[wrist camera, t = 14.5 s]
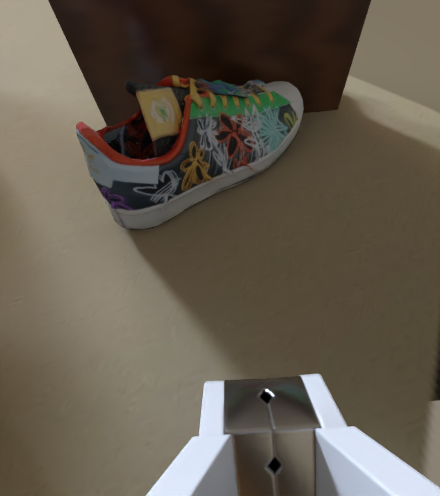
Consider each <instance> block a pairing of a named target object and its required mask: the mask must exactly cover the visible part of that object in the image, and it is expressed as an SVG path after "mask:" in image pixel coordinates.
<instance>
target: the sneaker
mask: <svg viewBox="0 0 440 496" xmlns="http://www.w3.org/2000/svg"><path fill="white" fill-rule="evenodd" d="M126 90H127V92H128V93H130V94H131V95H133V96H134V97H136V98H138V101H139V104H140V107H141V108H140V109H139V111H138V112H137V113H135V114H134V115H133V116H132V117H130V118H128V119H126V120H124V121H122V122H120V123H119V124H116V125H114V126H106V127H104V128H103V129H101V130H98V131H94V130H93V129H91V128H90V127H89V126H87V125H86V124H84V123H83V122H79V123H78V124H77V125H76V132H77V136H78V139H79V141H80V144H81V146H82V149H83V152H84V156H85V160H86V163H87V166H88V169H89V172H90V176H91V177H92V178H93V180H94V181H95V183H96V185H97V187H98V188H99V190H100V192H101V193H102V195H103V197H104V199H105V202H106V204H107V205H108V207H109V209H110V211H111V214H112V216H113V218H114V220H115V221H116V222H117V223H118V224H119V225H120V226H122V227H124V228H131V229H145V228H150V227H155V226H158V225H160V224H162V223H163V222H165V221H167V220H169V219H171V218H173V217H175V216H176V215H178V214H179V213H180V212H182V211H183V210H185V209H186V208H188V207H190V206H192V205H194V204H196V203H198V202H200V201H202V200H203V199H205V198H207V197H209V196H211V195H213V194H215V193H217V192H220V191H223V190H225V189H228V188H231V187H233V186H236V185H238V184H241V183H243V182H245V181H247V180H249V179H251V178H253V177H255V176H257V175H258V174H260V173H261V172H263V171H264V170H266V169H267V168H268V167H269V166H270V165H271V164H272V163H273V162H274V161H276V160H277V159H278V158H279V157H280V155H281V154H282V153H283V152H284V151H285V150H286V149H287V148H288V147H289V145H290V144H291V142H292V140H293V139H294V137H295V135H296V133H297V131H298V129H299V127H300V123H301V120H302V114H303V110H304V108H303V100H302V97H301V94H300V92H299V91H298V89H297V88H296V87H295V86H293V85H292V84H290V83H289V82H284V81H276V82H271V83H268V84H265V83H264V82H262V81H260V80H250V81H248V82H247V83H246V84H245V85H243V86H238V85H234V84H228V83H225V82H223V81H220V80H216V81H213V82H208V81H206V80H204V79H197V80H194V79H192V78H187V79H185V78H179V77H178V76H175V75H171V76H168V77H166V78H164V79H163V80H161V81H160V82H159V83H158V84H156V85H147V84H139V83H134V82H131V81H129V80H128V81H127V82H126Z"/></svg>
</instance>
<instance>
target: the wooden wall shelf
mask: <svg viewBox="0 0 440 496" xmlns="http://www.w3.org/2000/svg"><path fill="white" fill-rule="evenodd" d="M48 1H49V3H50V5H51V7H52V9H53V11H54V13H55V16H56V18H57V20H58V22H59V24H60V26H61V28H62V31H63V33H64V35H65V37H66V39H67V41H68V43H69V46H70V48H71V50H72V52H73V54H74V56H75V58H76V61H77V63H78V65H79V67H80V69H81V71H82V73H83V76H84V78H85V80H86V82H87V84H88V86H89V88H90V91H91V93H92V95H93V97H94V99H95V101H96V103H97V106H98V108H99V110H100V112H101V114H102V116H103V118H104V121H105V123H106V125H107V126H114V125H116V124H119V123H120V122H122V121H124V120H126V119H128V118H130V117H132V116H133V115H134V114H135V113H137V112H138V111H139V109H140V108H141V107H140V104H139V101H138V98H136V97H134V96H133V95H131V94H130V93H128V92H127V90H126V82H127V81H128V80H129V81H131V82H134V83H139V84H147V85H156V84H158V83H159V82H160V81H161V80H163V79H164V78H166V77H168V76H171V75H175V76H178V77H179V78H185V79H187V78H192V79H194V80H197V79H204V80H206V81H208V82H213V81H216V80H220V81H223V82H225V83H228V84H234V85H238V86H243V85H245V84H246V83H247V82H248V81H250V80H260V81H262V82H264V83H265V84H268V83H271V82H276V81H284V82H289V83H290V84H292V85H293V86H295V87H296V88H297V89H298V91H299V92H300V94H301V97H302V100H303V108H304V110H303V113H306V112H316V111H325V110H335V109H338V106H339V103H340V100H341V97H342V93H343V90H344V87H345V84H346V80H347V77H348V74H349V71H350V67H351V64H352V61H353V57H354V54H355V51H356V48H357V44H358V41H359V38H360V35H361V31H362V28H363V25H364V21H365V18H366V15H367V12H368V8H369V5H370V2H371V0H48Z"/></svg>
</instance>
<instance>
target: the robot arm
mask: <svg viewBox="0 0 440 496" xmlns="http://www.w3.org/2000/svg"><path fill="white" fill-rule="evenodd" d="M146 496H440V487H439V486H437V485H436V484H435V483H433V482H432V481H430V480H429V479H428V478H426V477H425V476H423V475H422V474H421V473H419V472H418V471H416V470H415V469H414V468H412V467H411V466H409V465H408V464H407V463H405V462H404V461H402V460H401V459H400V458H398V457H397V456H395V455H394V454H393V453H391V452H390V451H389V450H387V449H386V448H384V447H383V446H382V445H380V444H379V443H377V442H376V441H375V440H373V439H372V438H370V437H369V436H368V435H366V434H365V433H363V432H362V431H361V430H359V429H358V428H356V427H355V426H354V427H348V425H347V423H346V421H345V420H344V418H343V416H342V414H341V412H340V410H339V408H338V406H337V404H336V402H335V400H334V398H333V397H332V395H331V393H330V391H329V389H328V387H327V385H326V383H325V381H324V379H323V377H322V376H321V375H320V374H319V373H318V374H307V375H300V376H291V377H278V378H265V379H242V380H225V382H224V381H207V382H205V384H204V390H203V400H202V410H201V420H200V431H199V436H198V437H192V438H191V440H190V441H189V442H188V443H187V445H186V446H185V447H184V448H183V450H182V451H181V452H180V453H179V455H178V456H177V457H176V458H175V460H174V461H173V462H172V463H171V465H170V466H169V467H168V468H167V470H166V471H165V472H164V473H163V475H162V476H161V477H160V478H159V480H158V481H157V482H156V483H155V485H154V486H153V487H152V489H151V490H150V491H149V492H148V494H147V495H146Z"/></svg>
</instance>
